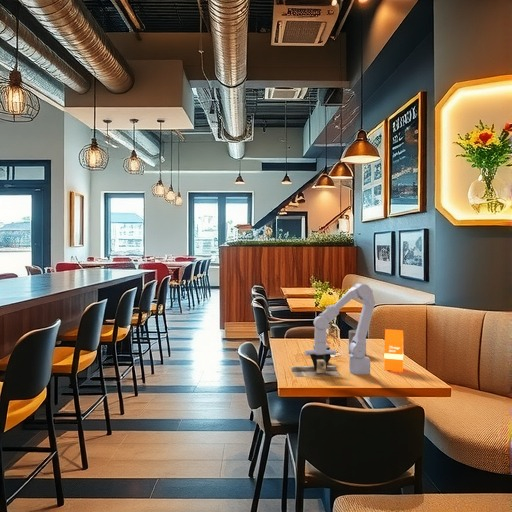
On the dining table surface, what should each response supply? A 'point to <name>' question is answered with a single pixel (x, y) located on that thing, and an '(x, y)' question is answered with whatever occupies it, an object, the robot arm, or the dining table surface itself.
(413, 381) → the dining table surface
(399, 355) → the orange juice
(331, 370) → the marking board
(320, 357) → the coffee mug
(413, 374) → the dining table surface
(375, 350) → the dining table surface
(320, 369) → the block
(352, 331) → the grey tall block
